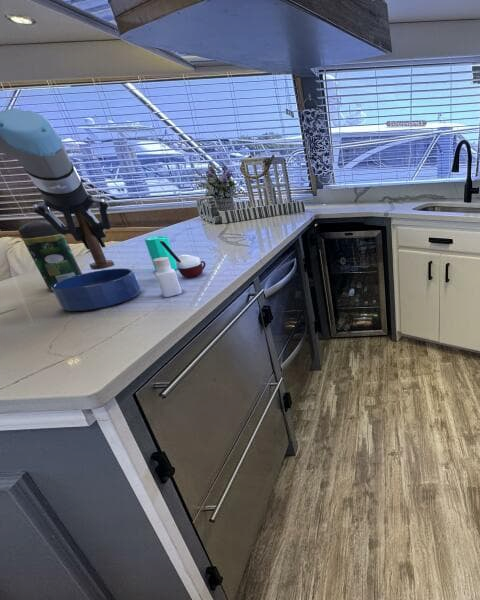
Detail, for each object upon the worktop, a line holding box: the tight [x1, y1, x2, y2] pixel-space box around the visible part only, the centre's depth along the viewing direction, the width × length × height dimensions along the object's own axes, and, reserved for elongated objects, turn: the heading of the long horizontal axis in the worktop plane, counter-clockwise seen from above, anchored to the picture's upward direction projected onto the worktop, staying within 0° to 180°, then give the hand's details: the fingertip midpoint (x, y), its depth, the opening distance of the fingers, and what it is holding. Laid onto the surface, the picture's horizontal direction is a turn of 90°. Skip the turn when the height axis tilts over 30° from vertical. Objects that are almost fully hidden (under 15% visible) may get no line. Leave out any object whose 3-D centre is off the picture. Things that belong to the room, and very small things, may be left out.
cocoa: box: [160, 241, 206, 279], centre depth 94 cm, size 10×6×12 cm, turn 130°
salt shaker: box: [152, 257, 183, 298], centre depth 81 cm, size 4×4×10 cm
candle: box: [144, 232, 178, 272], centre depth 102 cm, size 6×6×12 cm
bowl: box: [51, 267, 141, 312], centre depth 80 cm, size 15×15×6 cm
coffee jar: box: [17, 219, 83, 292], centre depth 89 cm, size 10×8×19 cm
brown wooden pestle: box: [73, 213, 115, 271], centre depth 86 cm, size 5×5×16 cm
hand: (95, 244), depth 90 cm, fingers closed on brown wooden pestle, 2 cm apart
